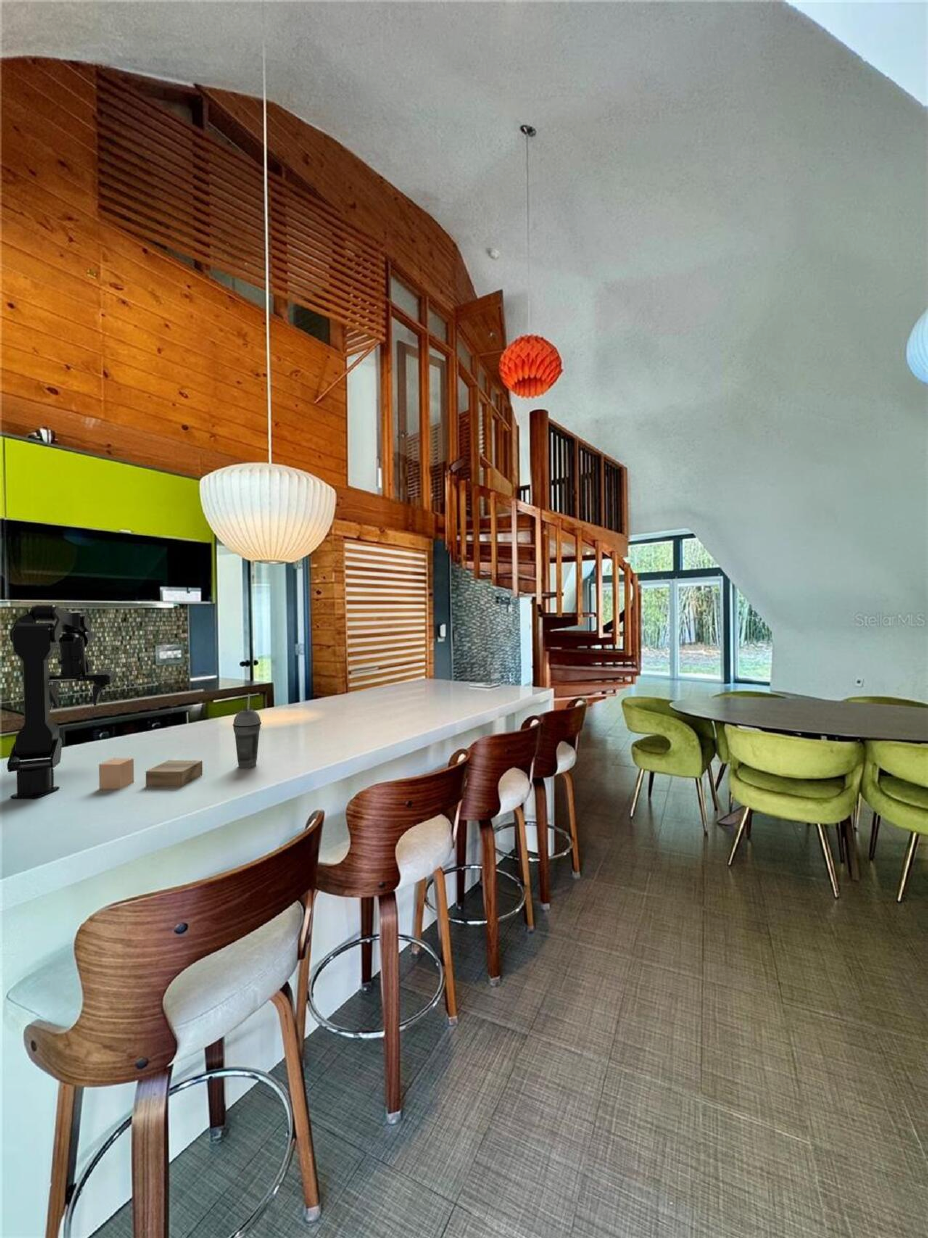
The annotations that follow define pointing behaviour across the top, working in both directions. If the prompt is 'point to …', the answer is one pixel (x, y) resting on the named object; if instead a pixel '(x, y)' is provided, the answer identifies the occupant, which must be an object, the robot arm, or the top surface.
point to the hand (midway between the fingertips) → (76, 706)
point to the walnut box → (174, 773)
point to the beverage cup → (247, 736)
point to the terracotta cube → (116, 773)
